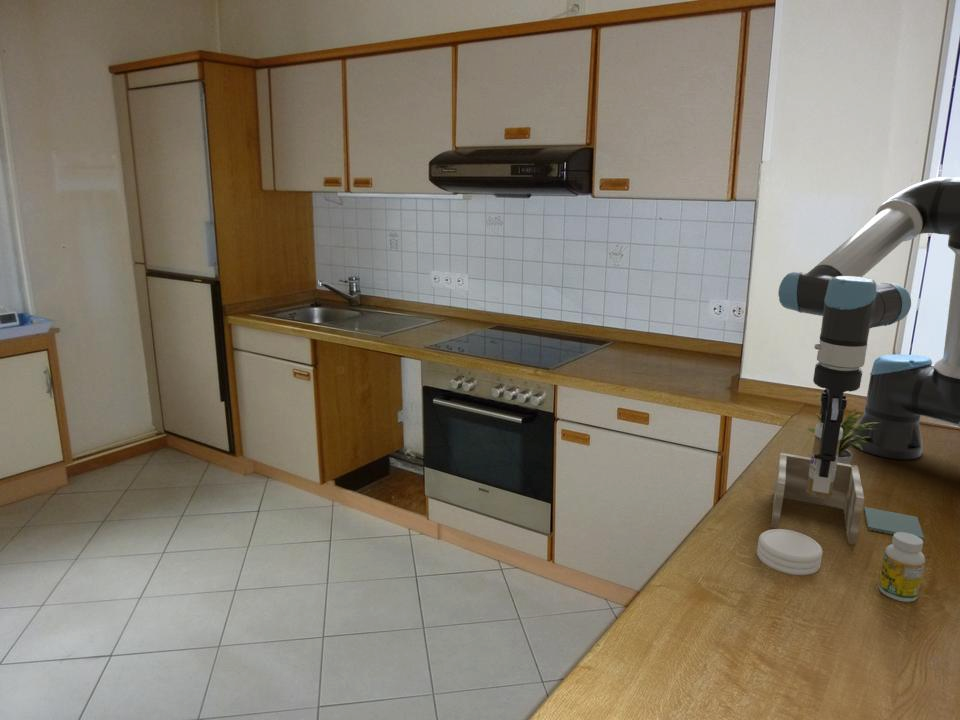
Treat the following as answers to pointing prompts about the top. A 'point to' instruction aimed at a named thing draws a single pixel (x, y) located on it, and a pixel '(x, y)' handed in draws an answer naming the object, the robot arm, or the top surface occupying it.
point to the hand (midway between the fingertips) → (820, 485)
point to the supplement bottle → (902, 567)
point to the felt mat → (892, 522)
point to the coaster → (789, 552)
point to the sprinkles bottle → (813, 461)
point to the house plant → (847, 428)
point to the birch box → (794, 487)
